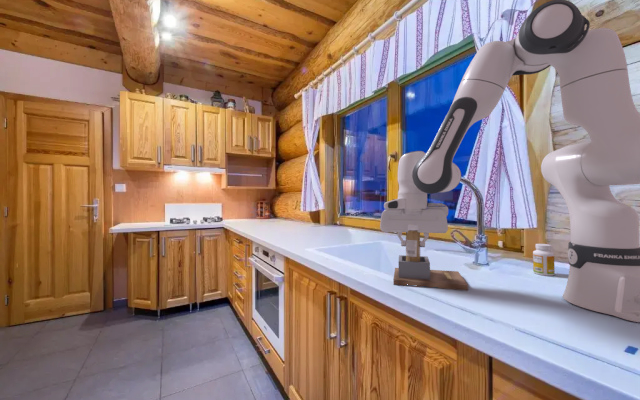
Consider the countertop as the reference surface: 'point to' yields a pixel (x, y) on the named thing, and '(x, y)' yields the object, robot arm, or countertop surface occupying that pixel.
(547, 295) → the countertop surface
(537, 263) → the supplement bottle
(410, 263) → the grey square open box
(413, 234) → the sprinkles bottle
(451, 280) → the wooden board
